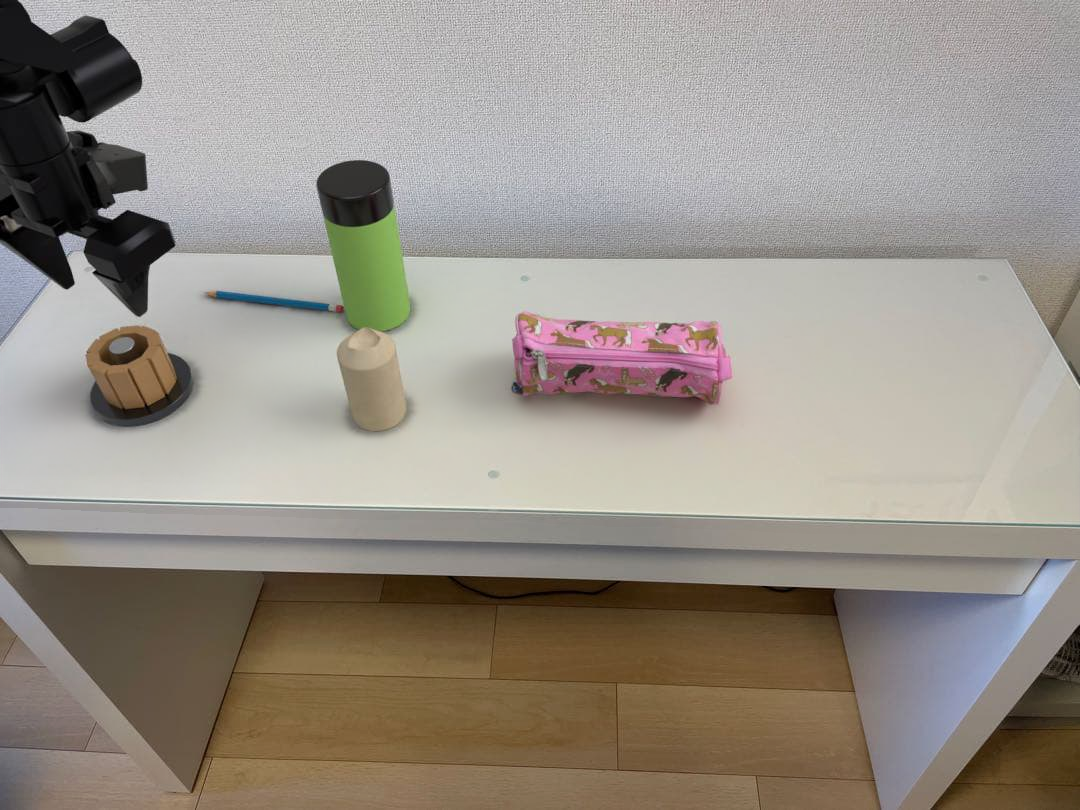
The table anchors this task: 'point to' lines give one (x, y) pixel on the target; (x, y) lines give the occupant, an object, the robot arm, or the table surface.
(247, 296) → the pencil
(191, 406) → the table surface
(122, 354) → the stand
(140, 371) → the wooden segmented ring
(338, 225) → the tumbler
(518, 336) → the pencil case
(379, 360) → the candle
